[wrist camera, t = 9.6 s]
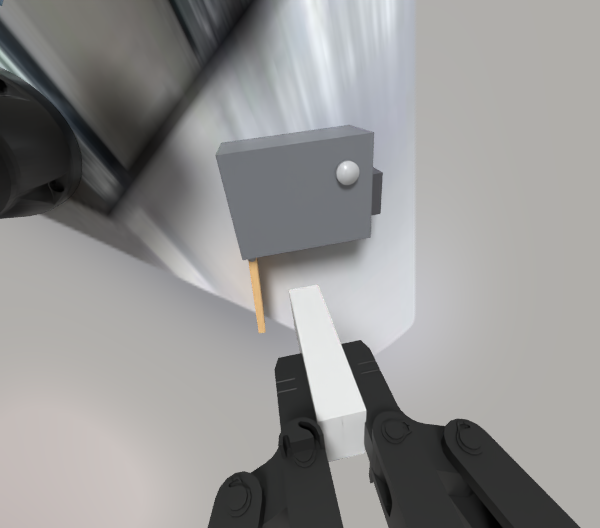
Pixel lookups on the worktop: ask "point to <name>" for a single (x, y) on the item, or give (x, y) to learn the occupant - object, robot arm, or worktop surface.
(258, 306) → the side door
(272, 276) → the worktop surface
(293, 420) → the robot arm
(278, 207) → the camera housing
